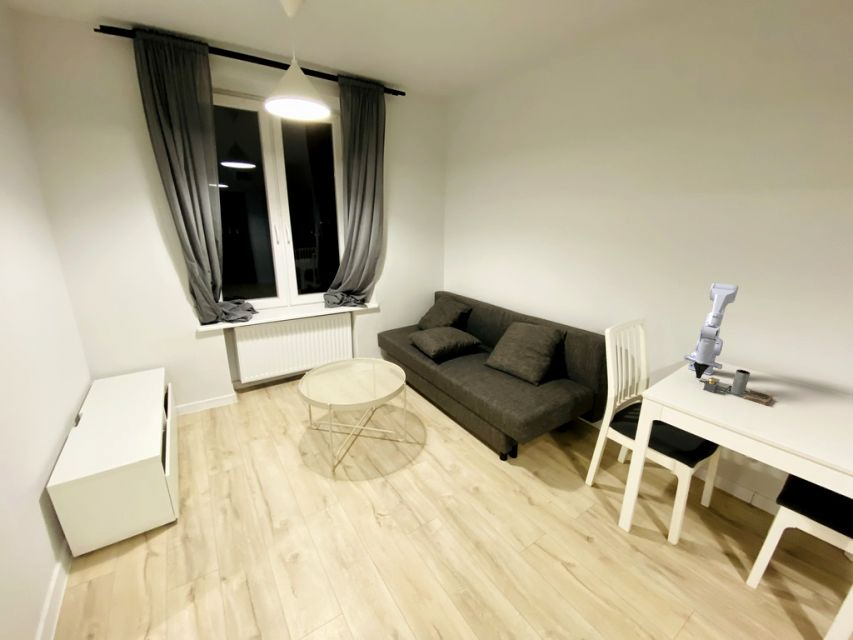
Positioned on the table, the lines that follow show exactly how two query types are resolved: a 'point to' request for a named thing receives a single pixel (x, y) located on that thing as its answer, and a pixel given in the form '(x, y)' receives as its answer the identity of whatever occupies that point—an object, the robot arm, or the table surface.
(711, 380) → the brass knob
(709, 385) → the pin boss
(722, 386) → the grey notched block
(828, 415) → the table surface
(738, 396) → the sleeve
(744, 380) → the planter
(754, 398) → the frame
